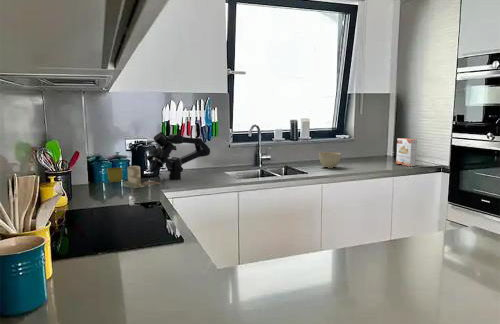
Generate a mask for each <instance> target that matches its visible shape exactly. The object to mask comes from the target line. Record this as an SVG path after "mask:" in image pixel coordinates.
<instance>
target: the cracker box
mask: <svg viewBox="0 0 500 324" xmlns="http://www.w3.org/2000/svg"><path fill="white" fill-rule="evenodd" d="M396 139H397V141H396V157H395V158H396V160H395V164H396V163H397V164H402V165H407V166H415V167H416V163H417V162H416V159H417V142H418V141H417V139H415V138H405V137H403V138H402V137H401V138H399V137H398V138H396Z"/></svg>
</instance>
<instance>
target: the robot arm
mask: <svg viewBox="0 0 500 324" xmlns="http://www.w3.org/2000/svg"><path fill="white" fill-rule="evenodd" d="M153 141H154V142H155V143H156V144H157V145H158V146H159V147H156V148H155V147H150V148H149V151H148V153H149V155H147V156H145V159H146V160H147V161H148V162H149V163H150V164H151V167H150V170H149V173H154V172H155V171H157V170H159V169H161V168H164V167H165V168H166V169H167V172H169V173H168V180H169V181H178V180H180V181H181V180H182V175H181V174H182V172H183V170H184V168H183V166H182V165H185V164H186V163H188V162H189V163H190V162H191V161H193V160H195V159H198V158H201V157H207V156H210V155H211V148H210V147H209V146H208V145H207V143H206V142H205V141H203V139H202V138H200V137H187V136H186V137H185V136H182V135H180V134H172V133H171V134H169V135H168V136H167V135H165V133H164V131H160V132H158V133H157V134H155V135H154V137H153ZM180 144H192V145H194V148H195V150H194V151H192V152H190V153H188V154H185V155H183V156H180V157H178V156H172V157H171V156H170V154H171V153H172V152H173V151H177V150H178V149H177V145H180ZM160 147H161V148H160ZM170 157H171V158H170ZM164 165H165V166H164Z"/></svg>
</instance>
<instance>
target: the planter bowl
mask: <svg viewBox="0 0 500 324" xmlns="http://www.w3.org/2000/svg"><path fill="white" fill-rule="evenodd" d="M341 155H342V154H341V153H340V152H331V151H329V152H328V151H325V152H319V153H318V156H319V157H318V158H319V161H320V164H321V165H322V168H324V167H328V168H327V169H334V168H333V167H336V168H337V166H338V164H339V163H340V160H341Z"/></svg>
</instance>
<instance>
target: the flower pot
mask: <svg viewBox="0 0 500 324" xmlns="http://www.w3.org/2000/svg"><path fill="white" fill-rule="evenodd" d="M106 173H107V178H108V181H109V183H111V184H112V183H118V182H119V183H120V182H122V180H123V167H110V168H106Z"/></svg>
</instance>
